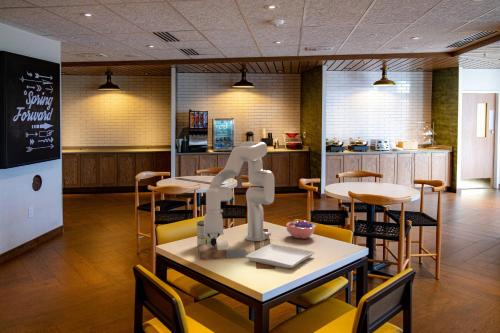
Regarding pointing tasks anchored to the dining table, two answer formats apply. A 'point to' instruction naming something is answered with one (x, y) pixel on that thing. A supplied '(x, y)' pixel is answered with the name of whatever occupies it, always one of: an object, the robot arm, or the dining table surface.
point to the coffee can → (200, 237)
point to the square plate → (280, 255)
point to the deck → (211, 252)
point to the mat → (237, 253)
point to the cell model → (300, 229)
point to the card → (222, 245)
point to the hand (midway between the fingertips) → (213, 245)
